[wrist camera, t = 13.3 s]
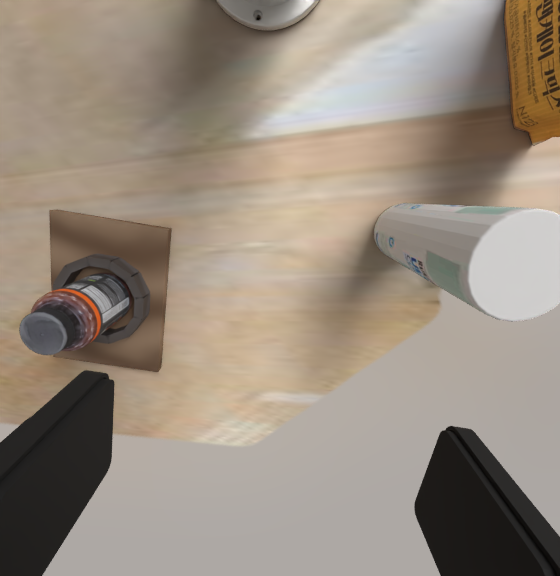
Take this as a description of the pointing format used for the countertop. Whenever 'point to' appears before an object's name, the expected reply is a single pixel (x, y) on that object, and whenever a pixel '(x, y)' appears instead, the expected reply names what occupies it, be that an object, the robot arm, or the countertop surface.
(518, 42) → the pancake mix bag
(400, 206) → the spray can
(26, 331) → the supplement bottle
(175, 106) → the countertop surface
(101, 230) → the bottle holder
